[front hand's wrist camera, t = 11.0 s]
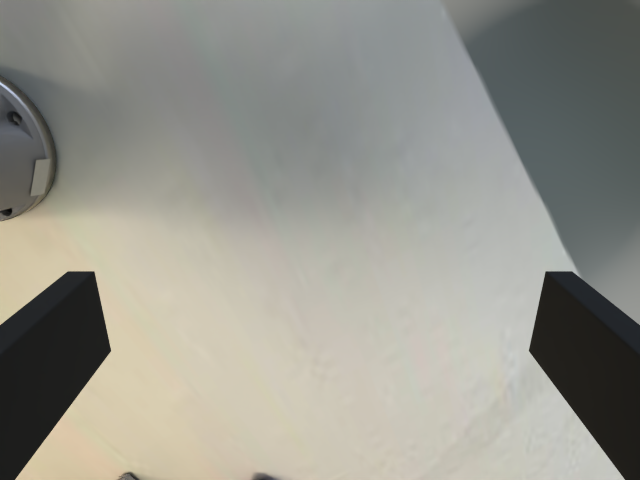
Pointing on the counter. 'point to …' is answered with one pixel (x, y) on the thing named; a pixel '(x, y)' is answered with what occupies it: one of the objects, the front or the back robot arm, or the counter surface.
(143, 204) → the counter surface
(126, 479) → the transformer
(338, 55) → the counter surface
